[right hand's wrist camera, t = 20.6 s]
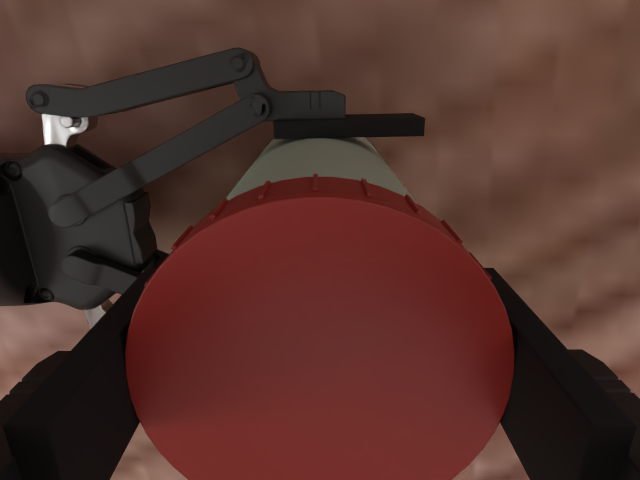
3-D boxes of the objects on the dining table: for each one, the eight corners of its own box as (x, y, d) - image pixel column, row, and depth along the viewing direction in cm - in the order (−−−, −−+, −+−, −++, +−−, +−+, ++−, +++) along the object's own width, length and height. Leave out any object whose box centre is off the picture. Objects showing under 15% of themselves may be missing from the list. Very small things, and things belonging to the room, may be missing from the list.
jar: (348, 93, 26) (400, 123, 9) (410, 216, 29) (537, 413, 12) (225, 164, 28) (77, 300, 11) (294, 274, 30) (263, 524, 13)
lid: (256, 501, 14) (246, 564, 13) (82, 269, 12) (36, 306, 10) (529, 398, 13) (565, 452, 11) (409, 105, 10) (430, 111, 8)
